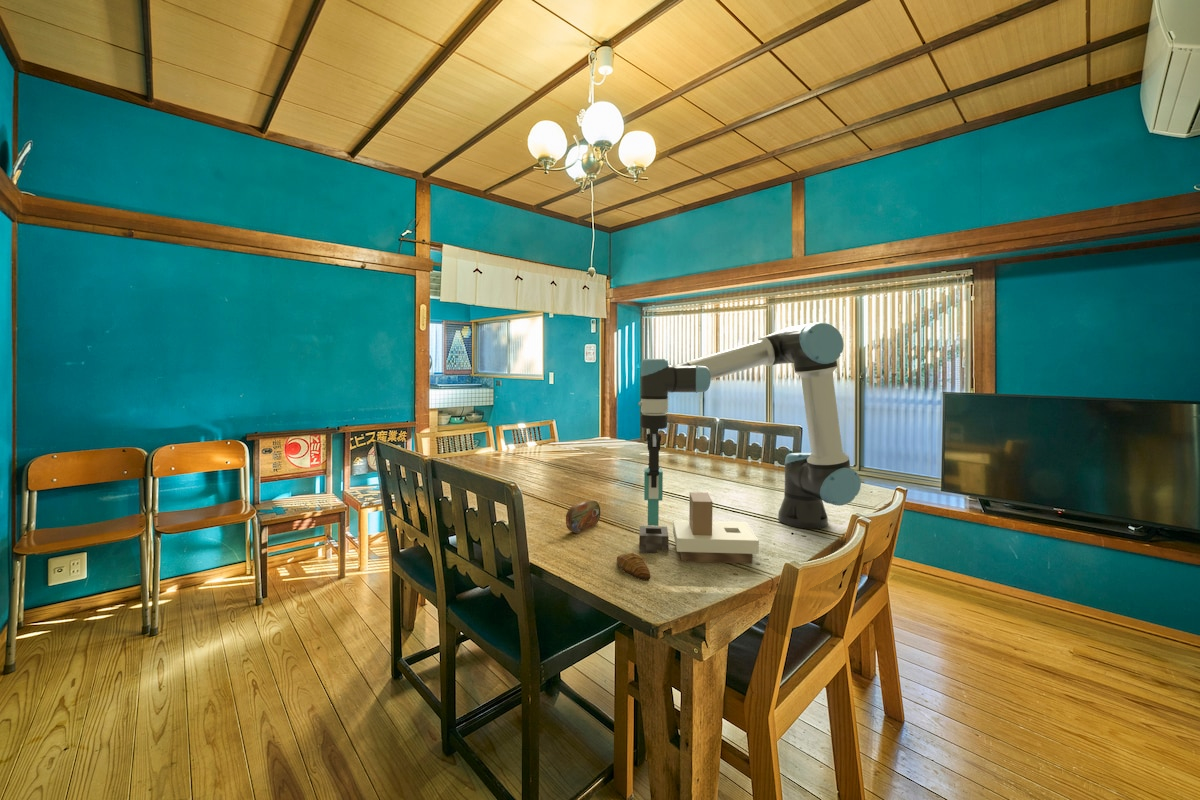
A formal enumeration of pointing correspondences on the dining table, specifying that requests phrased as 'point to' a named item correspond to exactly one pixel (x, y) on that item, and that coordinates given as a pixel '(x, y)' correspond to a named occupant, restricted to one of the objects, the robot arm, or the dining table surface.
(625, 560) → the croissant
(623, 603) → the dining table surface
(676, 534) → the lid
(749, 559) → the brown wooden open box
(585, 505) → the tin
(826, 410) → the robot arm
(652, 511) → the teal block
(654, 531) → the holder
